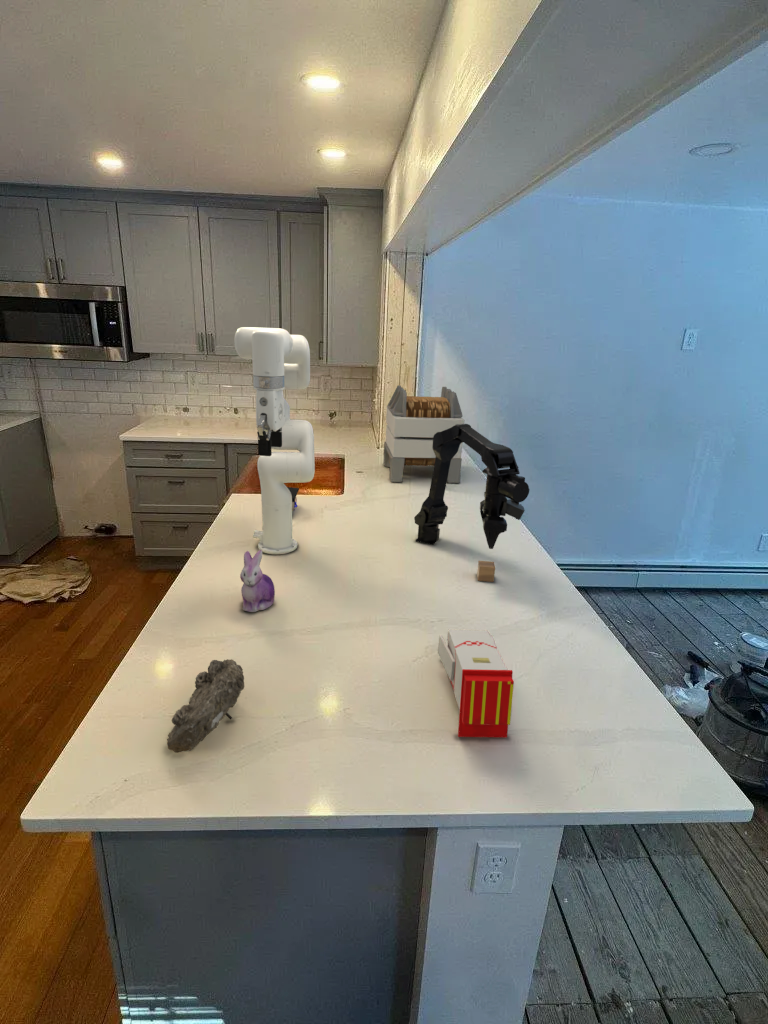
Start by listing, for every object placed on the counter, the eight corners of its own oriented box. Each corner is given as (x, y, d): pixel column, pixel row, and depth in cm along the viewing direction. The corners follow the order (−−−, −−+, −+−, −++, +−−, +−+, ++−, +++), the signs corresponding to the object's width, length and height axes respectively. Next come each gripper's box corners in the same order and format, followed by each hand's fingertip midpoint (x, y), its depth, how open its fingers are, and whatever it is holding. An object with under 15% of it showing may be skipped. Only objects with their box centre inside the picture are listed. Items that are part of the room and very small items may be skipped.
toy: (488, 613, 130) (523, 677, 101) (484, 667, 133) (517, 744, 104) (435, 612, 130) (455, 676, 101) (432, 666, 133) (451, 743, 103)
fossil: (192, 660, 117) (244, 628, 112) (224, 691, 120) (276, 661, 115) (142, 746, 98) (202, 712, 93) (182, 779, 101) (242, 748, 96)
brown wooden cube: (493, 582, 167) (495, 567, 166) (477, 580, 168) (479, 566, 166) (492, 575, 171) (494, 561, 170) (476, 574, 172) (478, 560, 170)
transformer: (382, 463, 289) (386, 382, 275) (445, 464, 293) (451, 384, 279) (390, 482, 257) (394, 392, 243) (460, 483, 261) (468, 394, 247)
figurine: (245, 617, 142) (242, 562, 137) (235, 598, 151) (232, 547, 146) (281, 609, 147) (280, 556, 142) (270, 592, 155) (268, 541, 150)
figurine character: (295, 520, 211) (299, 503, 225) (294, 502, 208) (299, 485, 221) (277, 519, 211) (282, 502, 224) (276, 501, 208) (282, 485, 221)
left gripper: (274, 388, 130) (275, 460, 136) (292, 379, 147) (293, 444, 152) (242, 386, 131) (245, 458, 137) (264, 378, 147) (266, 442, 153)
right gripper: (529, 504, 151) (521, 557, 156) (520, 484, 168) (513, 532, 174) (487, 501, 152) (481, 554, 157) (482, 481, 169) (477, 530, 174)
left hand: (270, 451), depth 145 cm, fingers open, 9 cm apart
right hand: (489, 542), depth 165 cm, fingers open, 9 cm apart
